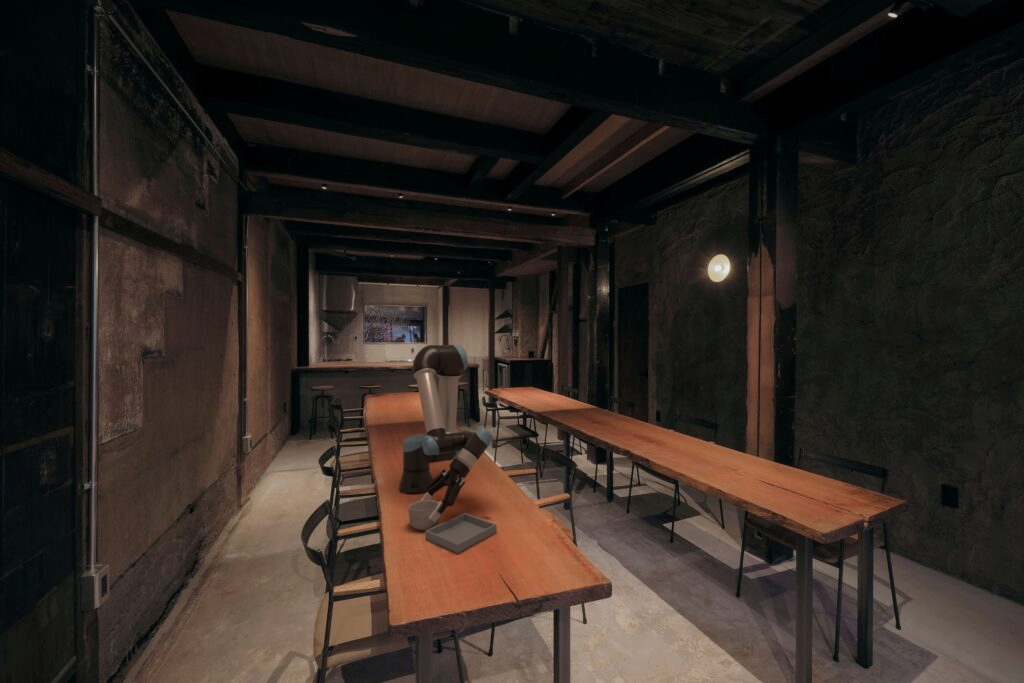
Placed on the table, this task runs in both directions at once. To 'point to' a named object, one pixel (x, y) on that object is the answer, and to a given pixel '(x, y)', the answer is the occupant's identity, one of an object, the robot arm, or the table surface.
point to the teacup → (422, 514)
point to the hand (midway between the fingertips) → (424, 514)
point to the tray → (460, 533)
